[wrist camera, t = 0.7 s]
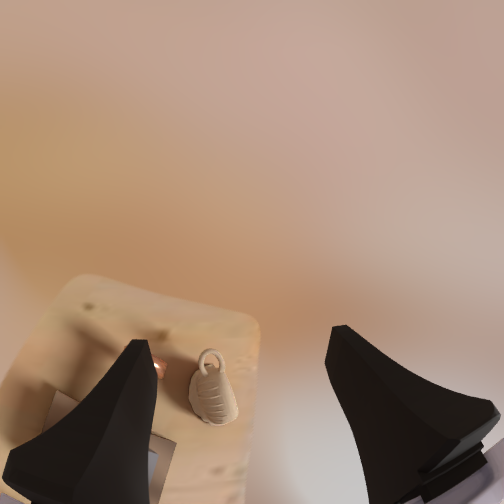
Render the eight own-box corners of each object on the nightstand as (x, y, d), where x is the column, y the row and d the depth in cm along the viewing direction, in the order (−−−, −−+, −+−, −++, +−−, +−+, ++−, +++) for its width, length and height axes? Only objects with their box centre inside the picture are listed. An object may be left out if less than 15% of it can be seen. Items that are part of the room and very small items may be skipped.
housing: (146, 522, 16) (168, 550, 12) (29, 479, 12) (20, 501, 8) (171, 440, 23) (197, 451, 18) (57, 390, 19) (51, 390, 14)
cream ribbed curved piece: (198, 431, 25) (223, 437, 21) (177, 357, 28) (198, 350, 24) (231, 420, 27) (259, 423, 24) (210, 351, 30) (235, 342, 26)
